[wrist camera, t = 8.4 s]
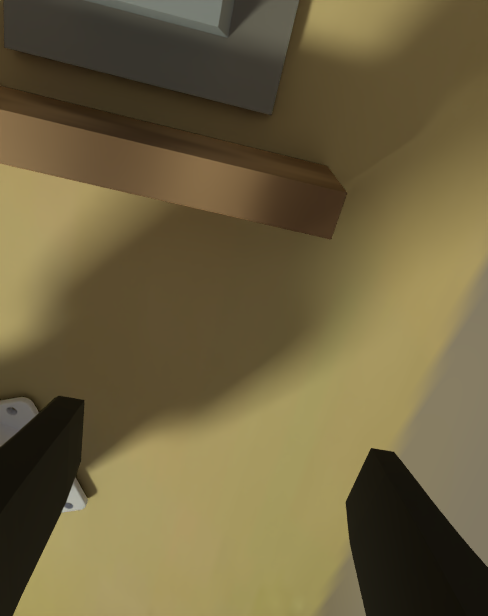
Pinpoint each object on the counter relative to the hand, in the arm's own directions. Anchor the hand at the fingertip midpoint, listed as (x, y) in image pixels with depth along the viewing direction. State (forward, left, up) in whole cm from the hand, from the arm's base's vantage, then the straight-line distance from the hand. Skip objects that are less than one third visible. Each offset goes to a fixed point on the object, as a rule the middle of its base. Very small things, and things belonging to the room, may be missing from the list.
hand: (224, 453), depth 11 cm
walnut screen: (-2, +7, -9) cm, 12 cm away
